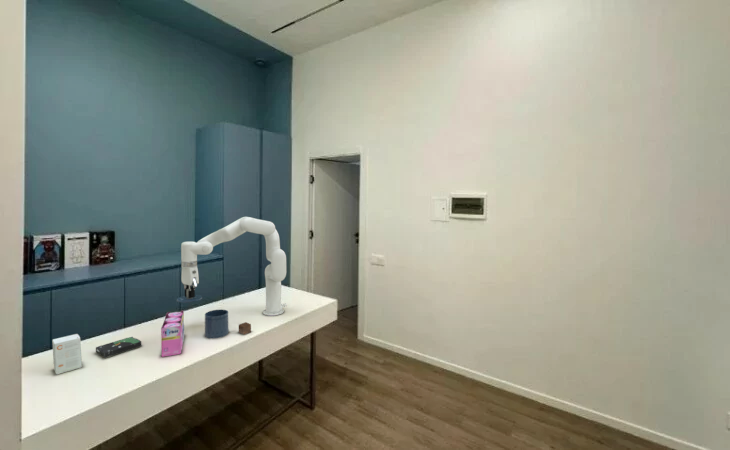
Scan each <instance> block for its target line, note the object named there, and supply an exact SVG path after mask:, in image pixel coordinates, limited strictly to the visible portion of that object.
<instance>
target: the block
mask: <svg viewBox="0 0 730 450" xmlns="http://www.w3.org/2000/svg"><path fill="white" fill-rule="evenodd" d="M251 332H252V324H251V323H249V322H246V321H245V322H243V323H239V324H238V333H239V334H240V335H243V336H244V335H247V334H249V333H251Z"/></svg>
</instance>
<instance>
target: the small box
mask: <svg viewBox="0 0 730 450" xmlns="http://www.w3.org/2000/svg"><path fill="white" fill-rule="evenodd" d="M81 339H82V338H81V337H80V335H79V334H78V333H74V334H70V335H66V336H61V337H58V338H53V339H52V340H51V341H52V356H53V360H52V361H53V370H54V373H55V375H60V374H63V373H66V372H71V371H73V370H77V369H80V368H82V367H83V361H82V360H83V359H82V357H83V356H82V343H81Z"/></svg>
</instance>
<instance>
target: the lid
mask: <svg viewBox="0 0 730 450" xmlns="http://www.w3.org/2000/svg"><path fill="white" fill-rule="evenodd" d="M188 291H189V289H187V297H185V295H182V296H179V297H177V298H176V302H178V303H183V304H184V303H186V304H187V303H194V302H197V301H201V300H202V299H203V296H202V295H200V294H195V297H192V298H188Z"/></svg>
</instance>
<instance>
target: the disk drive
mask: <svg viewBox="0 0 730 450" xmlns="http://www.w3.org/2000/svg"><path fill="white" fill-rule="evenodd" d="M140 347H142V341H141V340H140V339H139V338H136V337H133V336H129V337H125V338H121V339H119V340H116V341H112V342H109V343H104V344H101V345H98V346H95V353H96V354H98V355H100V357H102V358H104V359H107V358H111V357H114V356H117V355H119V354H122V353H125V352H128V351H131V350H134V349H137V348H140Z"/></svg>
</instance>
